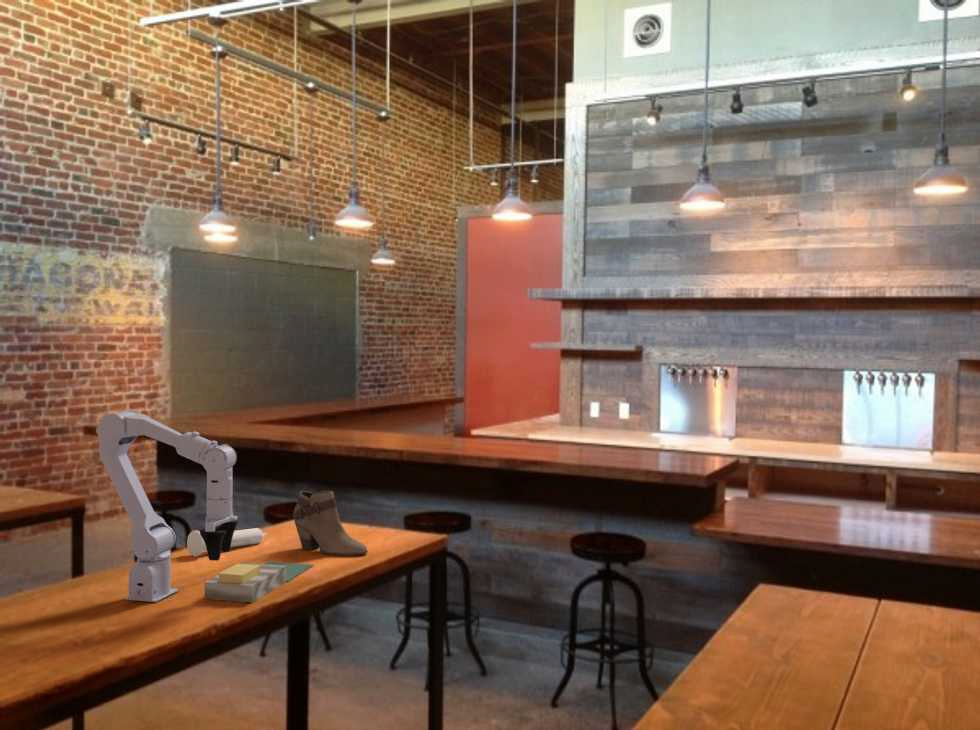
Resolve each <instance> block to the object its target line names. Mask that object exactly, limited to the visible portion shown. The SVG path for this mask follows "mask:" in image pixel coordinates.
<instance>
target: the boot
mask: <svg viewBox="0 0 980 730" xmlns="http://www.w3.org/2000/svg"><path fill="white" fill-rule="evenodd" d="M337 505H338V504H337V500H336V497H335V494H334V491H332V490H321V491H318V492H315V493H314V492H312V491H308V490H307V491H306V490H305V491H304V490H302V491H300V492H299V494H298V497H297V500H296V505H295V507H294V510H293V514H292V518H293V521H294V524H295V528H296V531H297V535H298V537H299V541H300V543H301V544H300V545H301V549H302V550H304V551H305V550H306V551H311V552H312V551H316V550H318V549H319V550H320V552H321V553H322V554H324V555H330V556H341V557H353V556H364V555H366V554H368V547H367V546H366V545H365V544H364V543H362V542H360V541H358V540H356V539H355V538H352V537H351V536H350V535H349V534H348V533H347V532H346V530H345V529H344V527H343V525H342V523H341V519H340V516H339V512H338V508H337Z"/></svg>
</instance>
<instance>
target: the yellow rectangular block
mask: <svg viewBox="0 0 980 730" xmlns="http://www.w3.org/2000/svg"><path fill="white" fill-rule="evenodd" d="M259 574H260V565H249V564H240V563H236V564H234V565H232V566H230V567H229V568H226V569H224V570H223V571H221V572H219V573H218V575H219V582H226V583H239V584H243V583H245V582H247V581H248V580H250V579H252V578H253V577H255V576H257V575H259Z"/></svg>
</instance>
